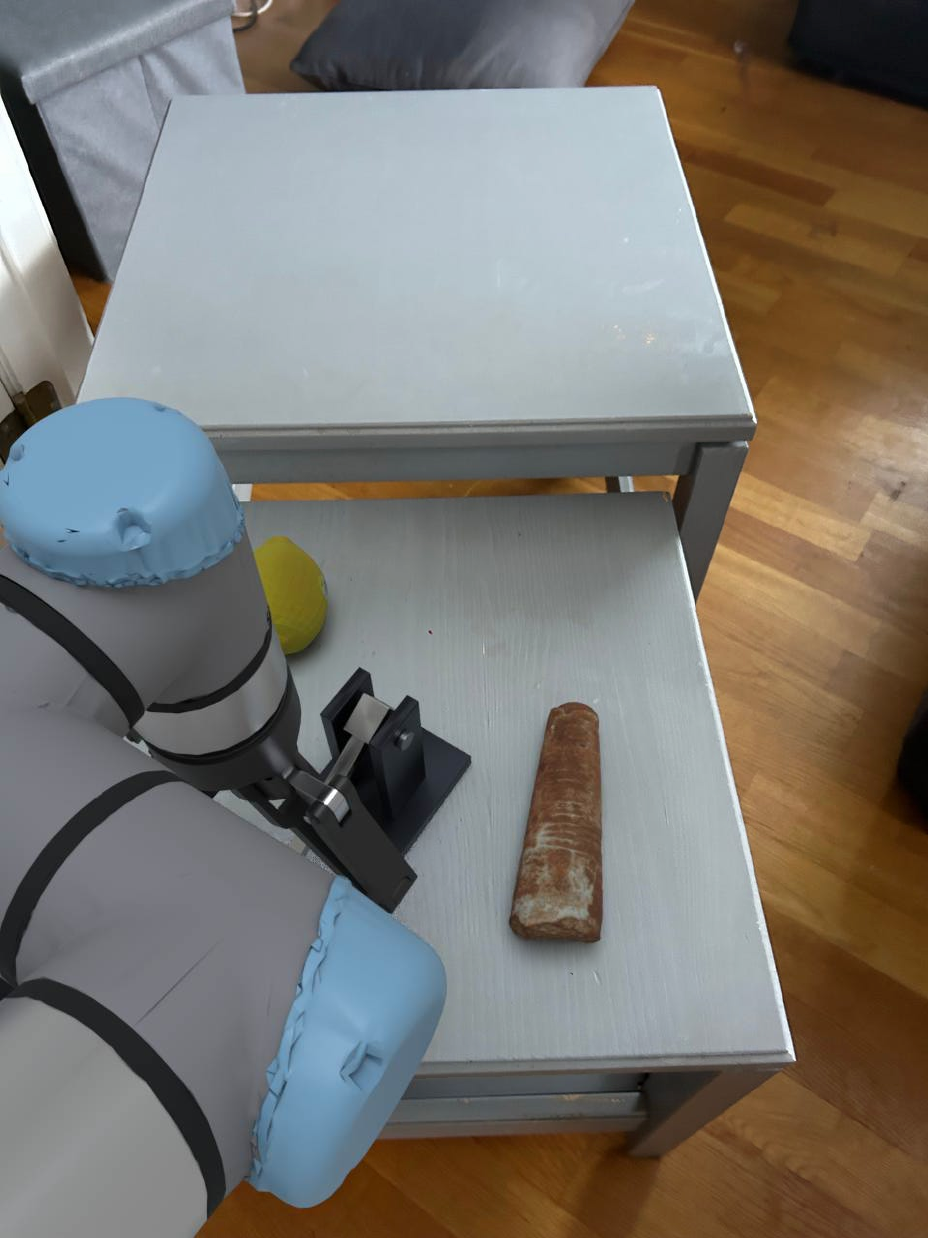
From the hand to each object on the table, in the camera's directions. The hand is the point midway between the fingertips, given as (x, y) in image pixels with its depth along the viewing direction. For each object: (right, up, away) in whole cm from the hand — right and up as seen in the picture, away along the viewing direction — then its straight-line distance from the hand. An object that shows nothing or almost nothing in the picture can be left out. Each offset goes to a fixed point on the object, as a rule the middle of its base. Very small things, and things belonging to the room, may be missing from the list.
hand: (286, 849), depth 62 cm
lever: (+3, +3, +3) cm, 6 cm away
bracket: (+5, +2, +12) cm, 13 cm away
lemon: (-4, +15, +21) cm, 25 cm away
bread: (+18, -1, +10) cm, 21 cm away
